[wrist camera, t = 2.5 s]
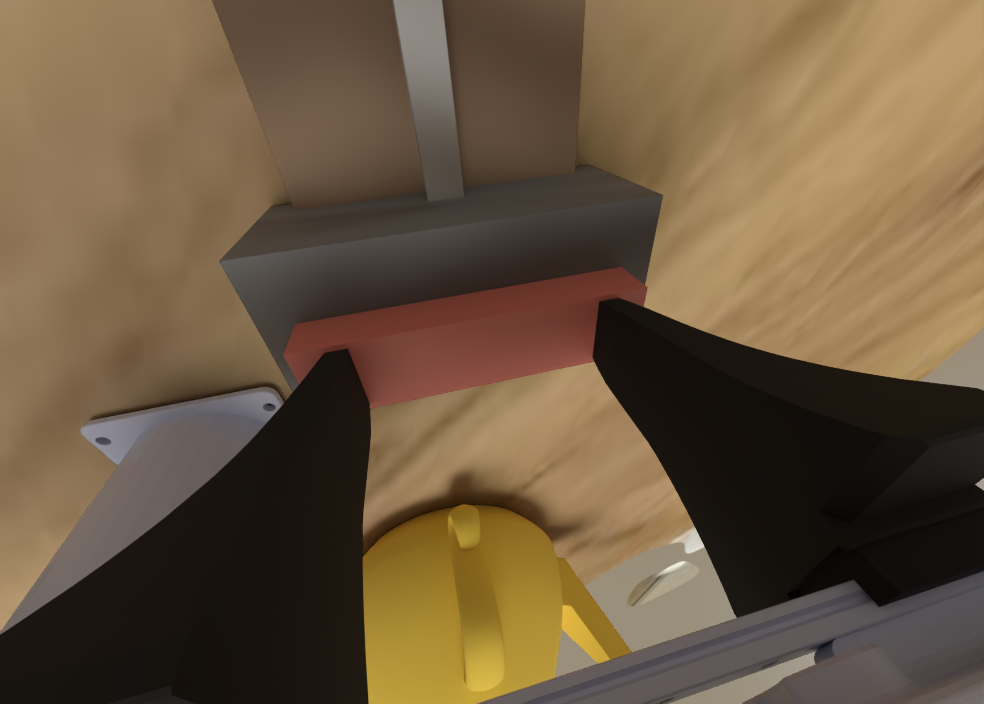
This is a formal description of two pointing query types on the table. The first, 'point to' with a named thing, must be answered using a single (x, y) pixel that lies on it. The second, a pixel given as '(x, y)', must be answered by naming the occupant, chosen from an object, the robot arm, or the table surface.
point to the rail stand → (420, 157)
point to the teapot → (472, 609)
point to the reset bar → (466, 336)
